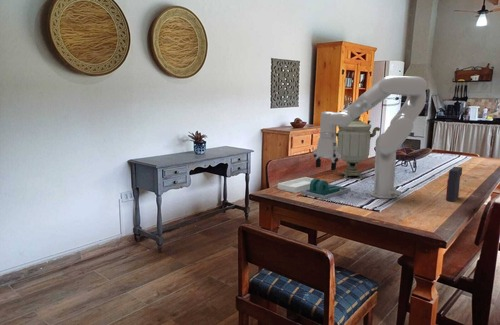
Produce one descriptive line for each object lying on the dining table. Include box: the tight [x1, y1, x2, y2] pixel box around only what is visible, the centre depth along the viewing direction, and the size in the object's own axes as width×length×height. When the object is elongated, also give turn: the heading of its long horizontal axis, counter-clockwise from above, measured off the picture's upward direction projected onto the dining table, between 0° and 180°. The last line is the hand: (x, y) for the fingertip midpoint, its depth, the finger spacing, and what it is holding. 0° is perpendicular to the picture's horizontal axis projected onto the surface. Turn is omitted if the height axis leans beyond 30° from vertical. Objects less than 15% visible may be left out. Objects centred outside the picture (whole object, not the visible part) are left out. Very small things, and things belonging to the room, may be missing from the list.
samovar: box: [335, 114, 381, 179], centre depth 227 cm, size 30×26×40 cm
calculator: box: [445, 166, 463, 202], centre depth 174 cm, size 11×4×15 cm, turn 141°
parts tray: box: [277, 176, 314, 194], centre depth 202 cm, size 13×24×3 cm, turn 132°
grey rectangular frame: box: [301, 183, 352, 200], centre depth 190 cm, size 15×23×2 cm, turn 132°
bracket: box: [310, 178, 341, 196], centre depth 190 cm, size 18×7×8 cm, turn 126°
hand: (325, 168), depth 188 cm, fingers open, 9 cm apart
